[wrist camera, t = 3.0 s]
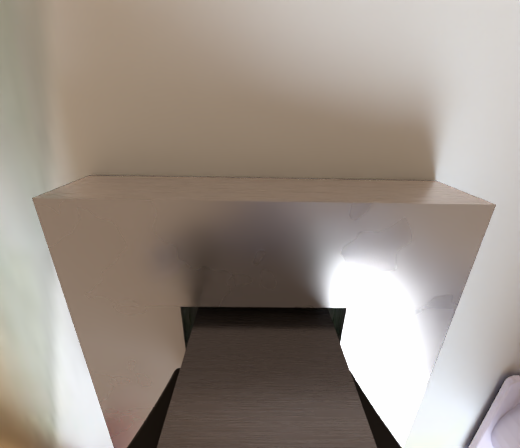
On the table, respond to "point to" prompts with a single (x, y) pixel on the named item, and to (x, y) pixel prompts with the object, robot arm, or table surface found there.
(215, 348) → the column
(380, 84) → the table surface
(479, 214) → the stand base
